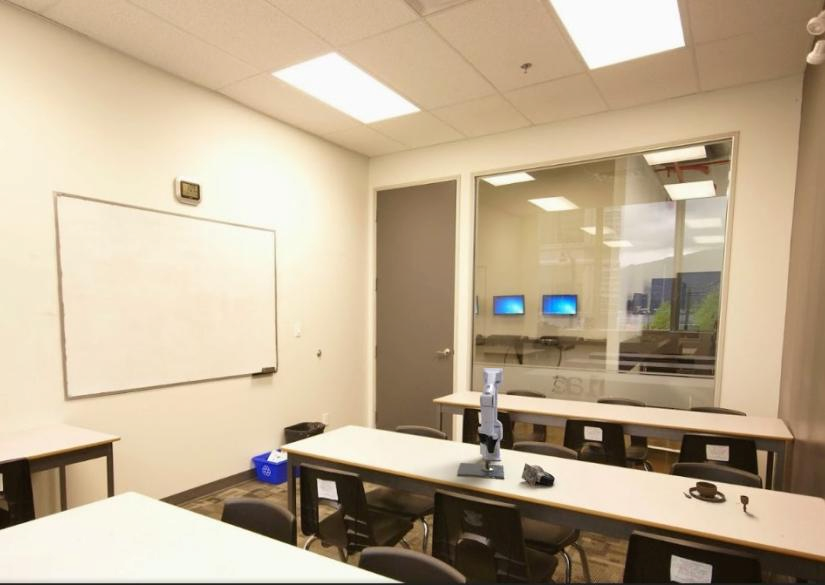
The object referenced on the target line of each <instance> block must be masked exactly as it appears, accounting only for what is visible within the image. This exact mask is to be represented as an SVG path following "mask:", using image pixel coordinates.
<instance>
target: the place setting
mask: <svg viewBox="0 0 825 585" xmlns="http://www.w3.org/2000/svg"><path fill="white" fill-rule="evenodd" d="M696 490H697V493H698V494H699V495H697V494H696V493H693V492H696ZM682 493H683V494H684V496H685V497H686V498H688V499H692V497H693V498H695V499H698V500H701V501H705V500H706V501H705V502H710V501H711V503H720V502H724V501H725V499H726V495H725V493H723V492H721V491H719V490H718V487H717V485H715V484H714V483H711V482H707V481H696V482H695V486H691V487H689V489H688V493H689V494H690V495H689V494H687V493H686V492H684V491H682ZM716 495H717V496H719V497H721V498H713V497H716ZM739 497H740V498H739V500H740V504H742V505H743V507H742V509H743V513H747V512H748V511H747V505H749V501H750V500H749V496H747V495H744V494H741V495H740V496H739Z"/></svg>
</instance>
